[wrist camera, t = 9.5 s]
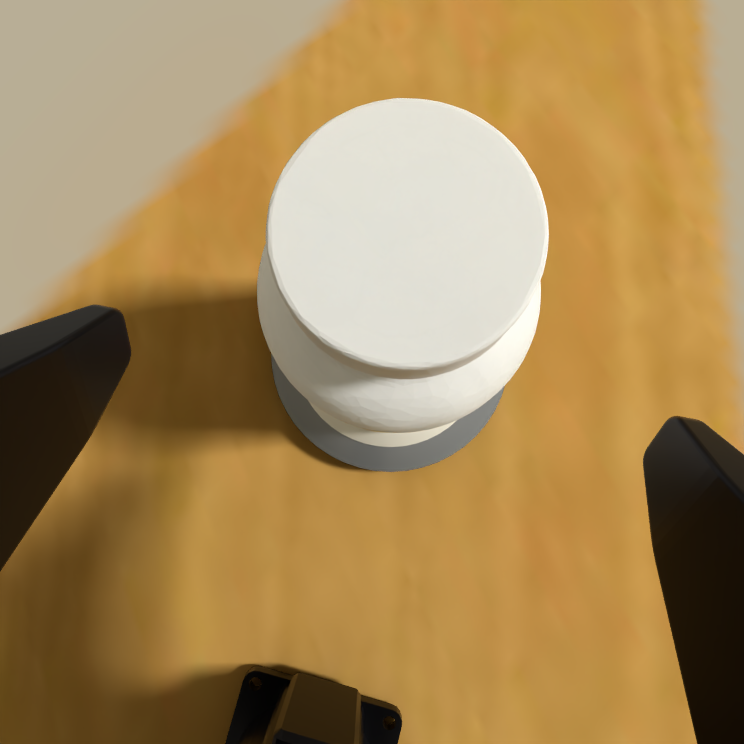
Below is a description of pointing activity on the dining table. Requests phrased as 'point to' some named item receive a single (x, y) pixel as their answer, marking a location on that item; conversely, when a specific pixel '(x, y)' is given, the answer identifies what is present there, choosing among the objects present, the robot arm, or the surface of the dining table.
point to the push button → (379, 434)
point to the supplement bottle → (402, 265)
